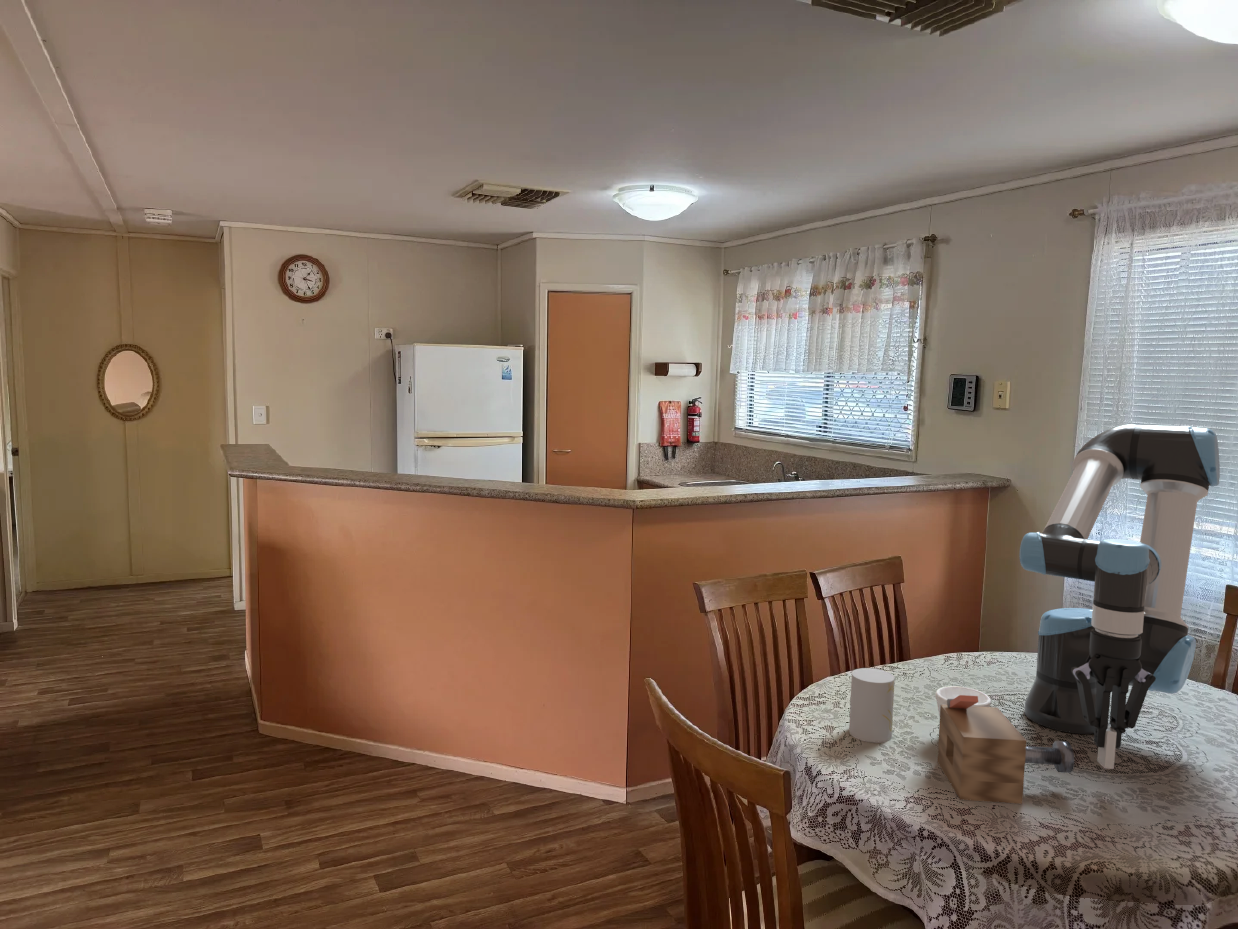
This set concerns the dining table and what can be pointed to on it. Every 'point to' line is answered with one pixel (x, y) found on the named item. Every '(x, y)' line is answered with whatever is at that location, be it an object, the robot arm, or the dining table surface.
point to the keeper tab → (962, 701)
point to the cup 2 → (955, 691)
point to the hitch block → (981, 754)
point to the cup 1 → (871, 705)
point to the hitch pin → (1052, 756)
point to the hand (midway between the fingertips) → (1105, 764)
